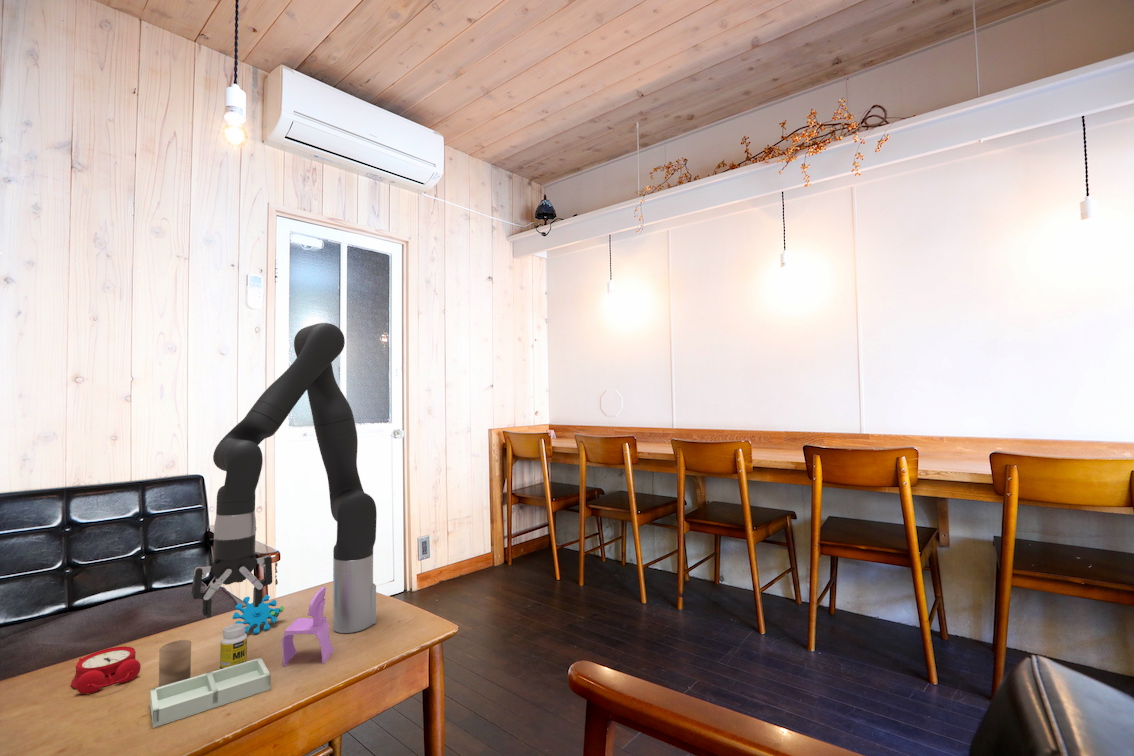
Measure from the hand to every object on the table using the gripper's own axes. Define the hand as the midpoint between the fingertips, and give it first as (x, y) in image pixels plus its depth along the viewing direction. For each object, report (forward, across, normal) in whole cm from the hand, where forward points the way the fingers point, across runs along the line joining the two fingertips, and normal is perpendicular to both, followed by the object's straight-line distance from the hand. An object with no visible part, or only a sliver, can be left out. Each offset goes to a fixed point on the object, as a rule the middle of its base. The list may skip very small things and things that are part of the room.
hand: (232, 611), depth 111 cm
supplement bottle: (+12, 0, 0) cm, 12 cm away
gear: (+12, -8, -18) cm, 23 cm away
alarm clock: (+12, +20, -12) cm, 26 cm away
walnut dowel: (+12, +10, +1) cm, 15 cm away
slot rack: (+12, +4, +10) cm, 16 cm away
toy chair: (+12, -14, +6) cm, 19 cm away
